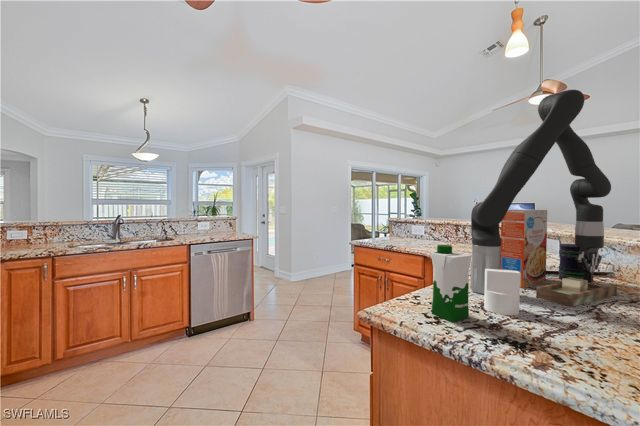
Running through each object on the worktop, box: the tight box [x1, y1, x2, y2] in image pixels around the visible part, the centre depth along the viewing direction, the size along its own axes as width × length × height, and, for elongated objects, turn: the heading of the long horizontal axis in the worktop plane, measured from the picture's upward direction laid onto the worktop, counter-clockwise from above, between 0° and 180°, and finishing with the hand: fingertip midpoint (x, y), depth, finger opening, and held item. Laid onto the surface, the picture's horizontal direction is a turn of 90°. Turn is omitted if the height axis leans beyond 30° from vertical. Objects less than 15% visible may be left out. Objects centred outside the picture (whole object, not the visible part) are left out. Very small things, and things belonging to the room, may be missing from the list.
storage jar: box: [558, 243, 584, 281], centre depth 120 cm, size 10×10×15 cm
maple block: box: [561, 277, 589, 293], centre depth 99 cm, size 5×5×4 cm
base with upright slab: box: [483, 269, 521, 316], centre depth 86 cm, size 9×9×12 cm
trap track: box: [535, 278, 618, 308], centre depth 99 cm, size 30×10×4 cm, turn 114°
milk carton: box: [430, 244, 472, 323], centre depth 81 cm, size 9×9×20 cm
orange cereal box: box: [500, 209, 548, 290], centre depth 118 cm, size 23×8×30 cm, turn 124°
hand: (588, 282), depth 102 cm, fingers closed
